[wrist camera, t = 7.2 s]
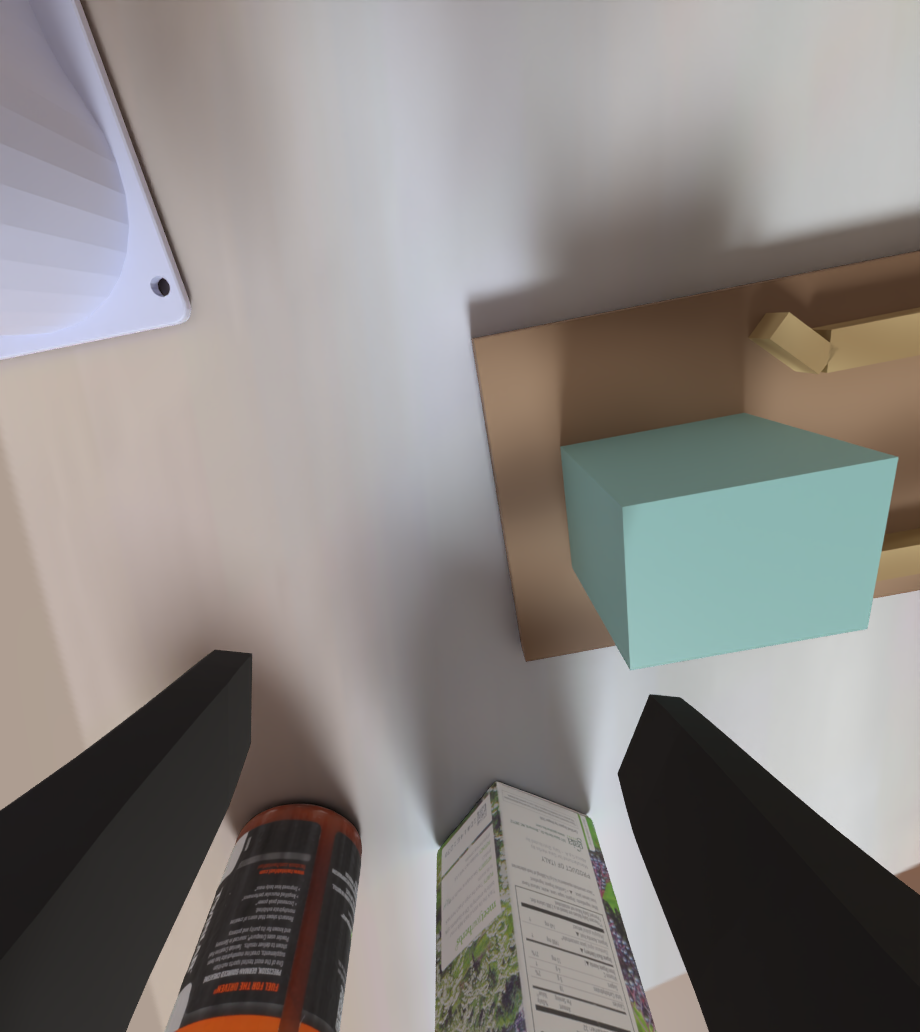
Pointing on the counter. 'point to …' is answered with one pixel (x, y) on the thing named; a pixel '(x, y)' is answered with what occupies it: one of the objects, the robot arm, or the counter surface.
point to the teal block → (725, 535)
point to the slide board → (699, 407)
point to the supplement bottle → (277, 929)
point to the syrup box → (531, 925)
